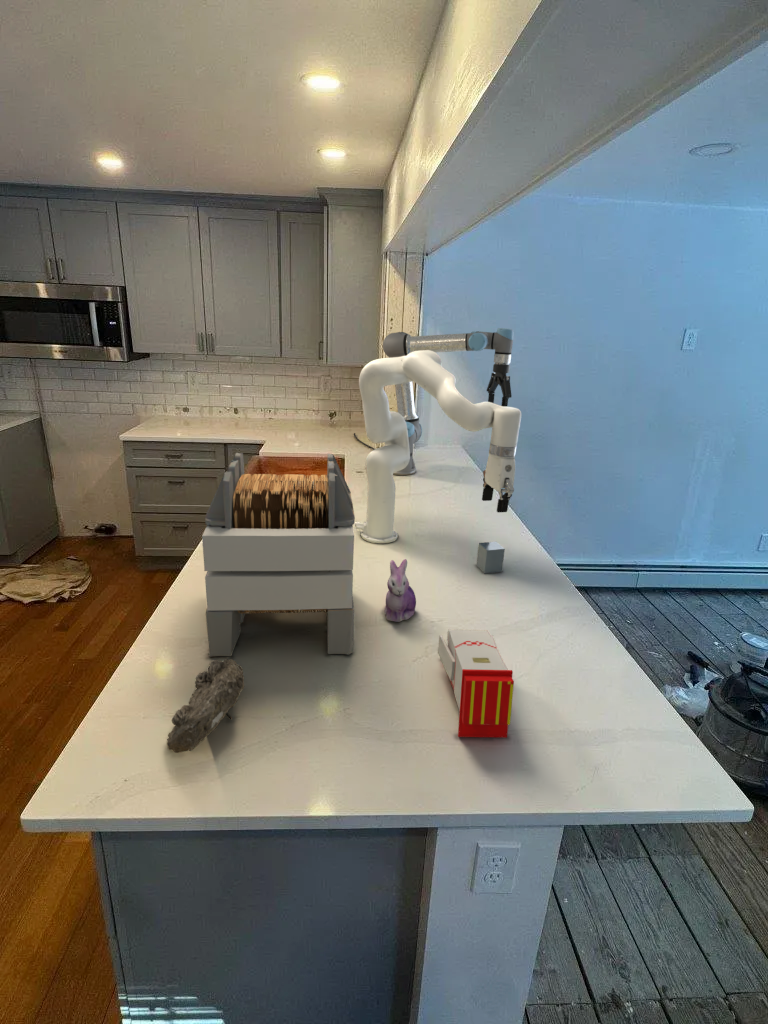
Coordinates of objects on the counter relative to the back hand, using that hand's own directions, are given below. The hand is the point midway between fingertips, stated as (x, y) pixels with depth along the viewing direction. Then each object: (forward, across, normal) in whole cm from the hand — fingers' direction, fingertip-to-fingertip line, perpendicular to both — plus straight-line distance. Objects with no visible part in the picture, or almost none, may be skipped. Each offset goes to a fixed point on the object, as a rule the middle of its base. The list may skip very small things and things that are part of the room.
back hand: (496, 410), depth 267 cm
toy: (+32, -152, +81) cm, 175 cm away
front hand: (+11, -98, +50) cm, 110 cm away
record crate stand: (+32, -115, +114) cm, 165 cm away
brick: (+32, -98, +49) cm, 114 cm away
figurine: (+32, -119, +85) cm, 150 cm away
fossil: (+32, -148, +132) cm, 201 cm away
